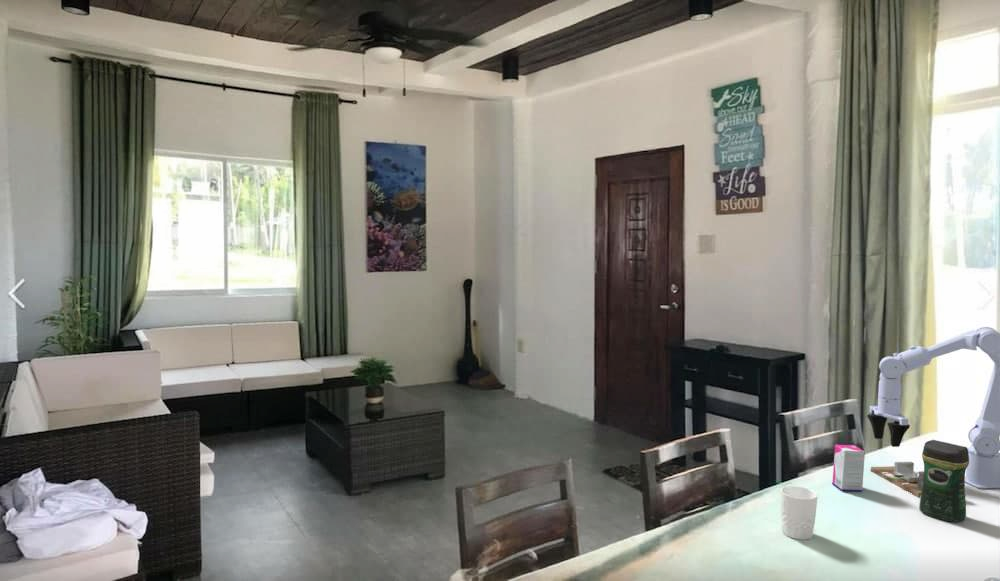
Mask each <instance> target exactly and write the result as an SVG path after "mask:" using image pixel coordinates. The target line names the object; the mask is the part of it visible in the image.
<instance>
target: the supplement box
mask: <svg viewBox="0 0 1000 581" xmlns="http://www.w3.org/2000/svg"><path fill="white" fill-rule="evenodd" d="M865 452H866V451H865V450H863V449H861V448H860V447H859V446H857V445H855V444H853V445H852V444H835V445H834V453H833V454H834V456H833V457H834V458H833V470H832V471H833V472H832V485H833V486H834V487H835V488H837V489H838V490H839V491H840V492H845V493H846V492H847V493H848V492H851V493H854V492H855V493H856V492H857V493H862V492H863V487H864V486H863V485H864V484H863V483H864V472H865V471H864V470H865V467H864V466H865V456H866V455H865V454H866V453H865Z"/></svg>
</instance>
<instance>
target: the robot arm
mask: <svg viewBox="0 0 1000 581" xmlns="http://www.w3.org/2000/svg"><path fill="white" fill-rule="evenodd" d="M977 347H978V348H979V349H980V350H981V351H982V352H983V353H985V354H986V355H987V356H988V357H989V358H990V360H991V361H992V362H993V363H994V365H993V367H992V368H993V369H992V373H991V376H990V379H989V382H988V386H987V390H986V393H985V397H984V400H983V404H982V407H981V410H980V412H979V413H980V414H979V417H978V418H977V419H976V421H975V424H974V426H973V427H971V429H970V430H969V431H968V437H967V438H968V439H969V442H970V443H971V445H970V446H969V447H967V449H968V453H969V465H968V467H967V468H966V471H965V483H966V484H968V485H970V486H973V487H974V488H977V489H980V490H981V489H983V490H984V489H985V490H986V489H1000V332H998V331H997V330H996V329H995V328H993V327H990V326H983V327H982V326H981V327H980V328H977V329H972V330H968V331H966V332H963V333H960V334H958V335H957V334H956V335H955V336H952V337H950V338H948V339H945V340H943V341H940V342H938V343H935V344H934V345H931V346H928V347H924V346H922V345H918V346H915V345H912V346H911V345H910V347H909V348H910V349H907V350H905V351H902V352H899V353H897V352H894V353H893V354H892V355H893V356H889V355H888V356H885V357H883V358H882V359H881V360H880V361H879V364H878V368H879V371H880V374H879V381H878V394H877V396H878V397H877V405H869V413H870V414H869V413H868V414H867V415H866V416H867V418H868V420H869V422H870V423H869V424H870V425H871V428H872V433H873V437H874V439H876V440H877V439H878V440H879V439H881V440H882V439H883V437H884V434H885V426H886V423H887V426H888V430H889V433H890V434H889V435H890V446H891V447H893V448H899V447H900V446H901V443H902V440H903V438H904V436H905V434H906V432H907V431H908V430H909V429H910V427H911V426H910V424H909V418H908V417H906V416H904V415H903V414H902V413H901V398H902V397H901V396H902V394H901V391H902V382H901V381H902V380H901V379H902V378H901V376H902V375H903V374H904V373H909V372H911V371H914V370H917V369H920V368H922V367H925V366H928V365H930V364H931V361H932V359H934V358H937V357H941V356H943V355H948V354H950V353H953V352H956V351H959V350H964V349H965V350H970V351H977V349H978V348H977ZM887 420H890V421H891V422H887ZM892 421H893V422H892Z"/></svg>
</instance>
